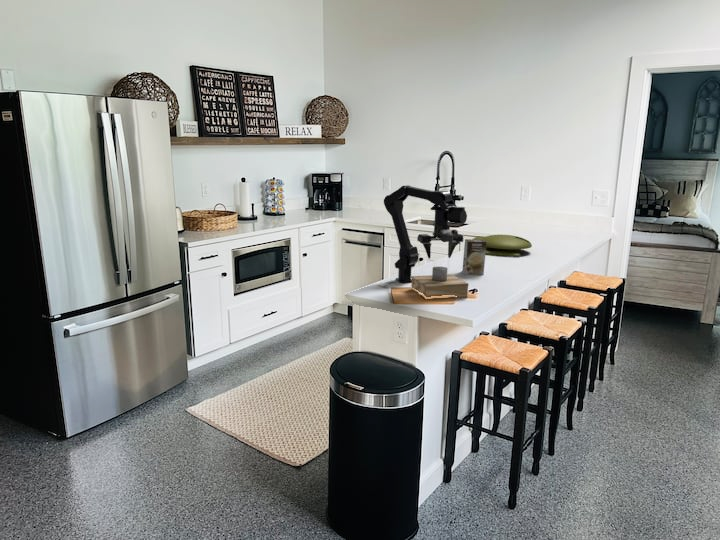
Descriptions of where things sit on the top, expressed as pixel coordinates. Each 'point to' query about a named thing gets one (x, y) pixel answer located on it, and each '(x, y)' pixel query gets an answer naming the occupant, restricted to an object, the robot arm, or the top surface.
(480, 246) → the coffee box
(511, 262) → the top surface
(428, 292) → the box
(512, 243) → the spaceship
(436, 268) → the grey domed cylinder
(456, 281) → the lid
